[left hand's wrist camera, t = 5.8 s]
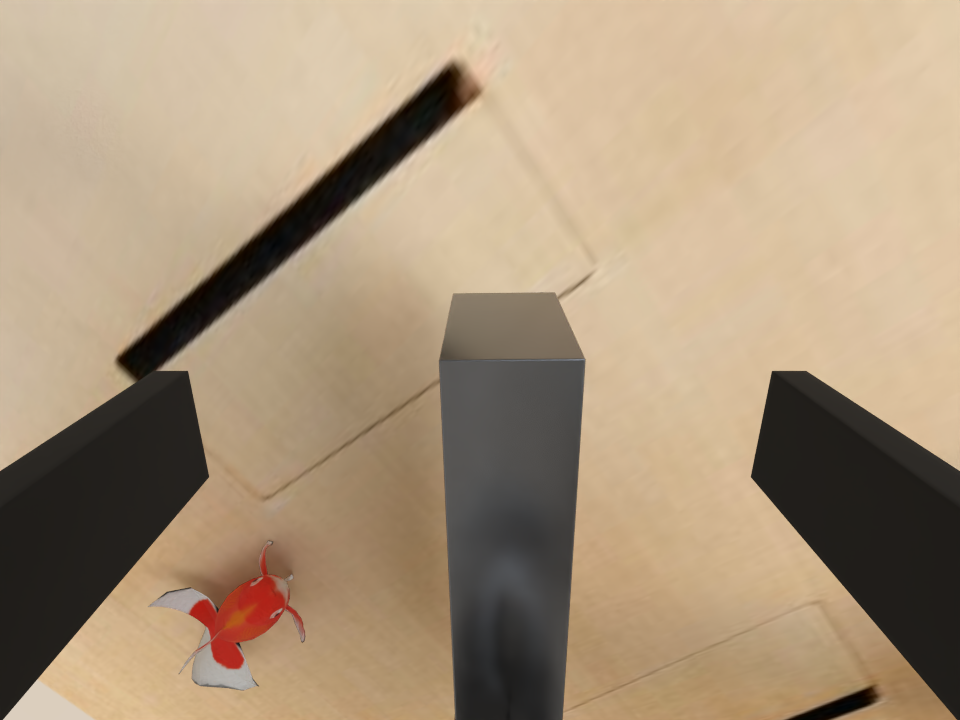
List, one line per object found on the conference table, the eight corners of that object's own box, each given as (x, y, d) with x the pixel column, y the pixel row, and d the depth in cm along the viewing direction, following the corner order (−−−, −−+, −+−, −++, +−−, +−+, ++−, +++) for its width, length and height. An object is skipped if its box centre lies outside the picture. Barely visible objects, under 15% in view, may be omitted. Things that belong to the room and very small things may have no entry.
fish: (365, 648, 44) (258, 752, 36) (264, 646, 53) (161, 728, 45) (312, 526, 44) (192, 603, 35) (220, 545, 53) (108, 609, 45)
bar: (453, 293, 26) (438, 360, 18) (555, 292, 26) (585, 359, 18) (468, 754, 38) (463, 911, 30) (537, 754, 38) (550, 911, 30)
